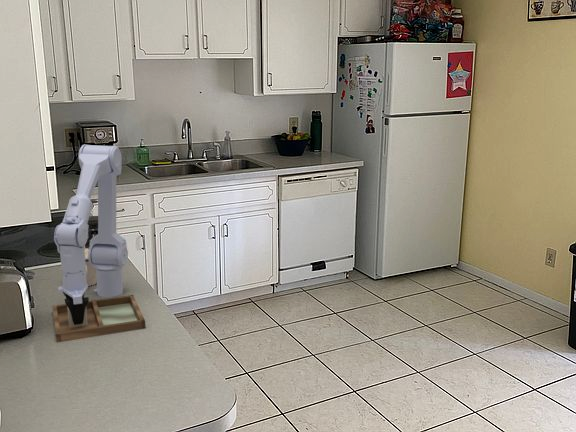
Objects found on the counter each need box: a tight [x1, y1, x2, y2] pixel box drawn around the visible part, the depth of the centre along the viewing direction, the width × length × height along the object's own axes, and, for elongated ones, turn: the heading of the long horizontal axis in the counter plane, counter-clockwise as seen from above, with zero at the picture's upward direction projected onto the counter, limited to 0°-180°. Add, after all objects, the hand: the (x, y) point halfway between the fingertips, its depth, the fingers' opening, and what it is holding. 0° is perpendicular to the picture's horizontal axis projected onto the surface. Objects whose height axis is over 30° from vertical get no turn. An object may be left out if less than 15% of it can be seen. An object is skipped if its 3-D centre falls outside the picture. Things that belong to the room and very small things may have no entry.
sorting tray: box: [51, 294, 147, 343], centre depth 153 cm, size 18×21×3 cm
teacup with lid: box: [84, 245, 97, 287], centre depth 178 cm, size 12×9×12 cm
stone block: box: [67, 307, 88, 328], centre depth 151 cm, size 4×4×5 cm
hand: (77, 319), depth 151 cm, fingers closed on stone block, 4 cm apart
